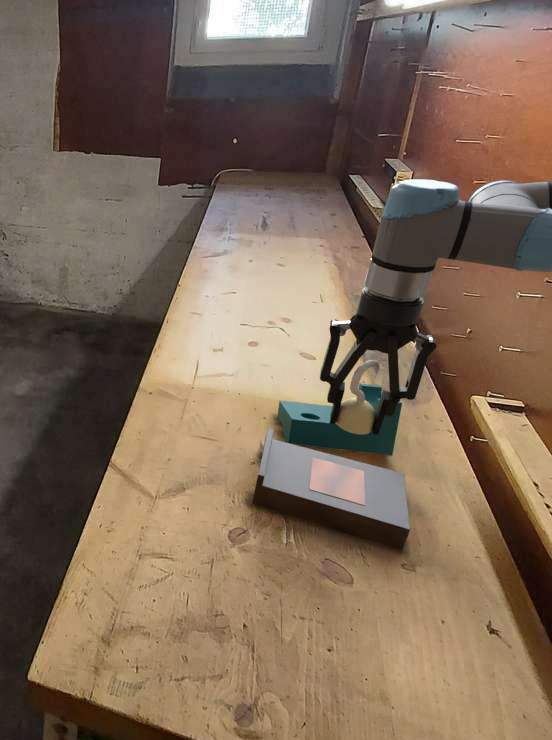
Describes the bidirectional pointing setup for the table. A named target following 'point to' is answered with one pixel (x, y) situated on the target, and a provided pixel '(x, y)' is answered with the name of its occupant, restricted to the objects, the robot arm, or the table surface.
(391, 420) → the teal l-shaped bracket
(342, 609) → the table surface
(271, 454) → the shelf
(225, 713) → the table surface
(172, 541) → the table surface
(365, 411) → the hook
